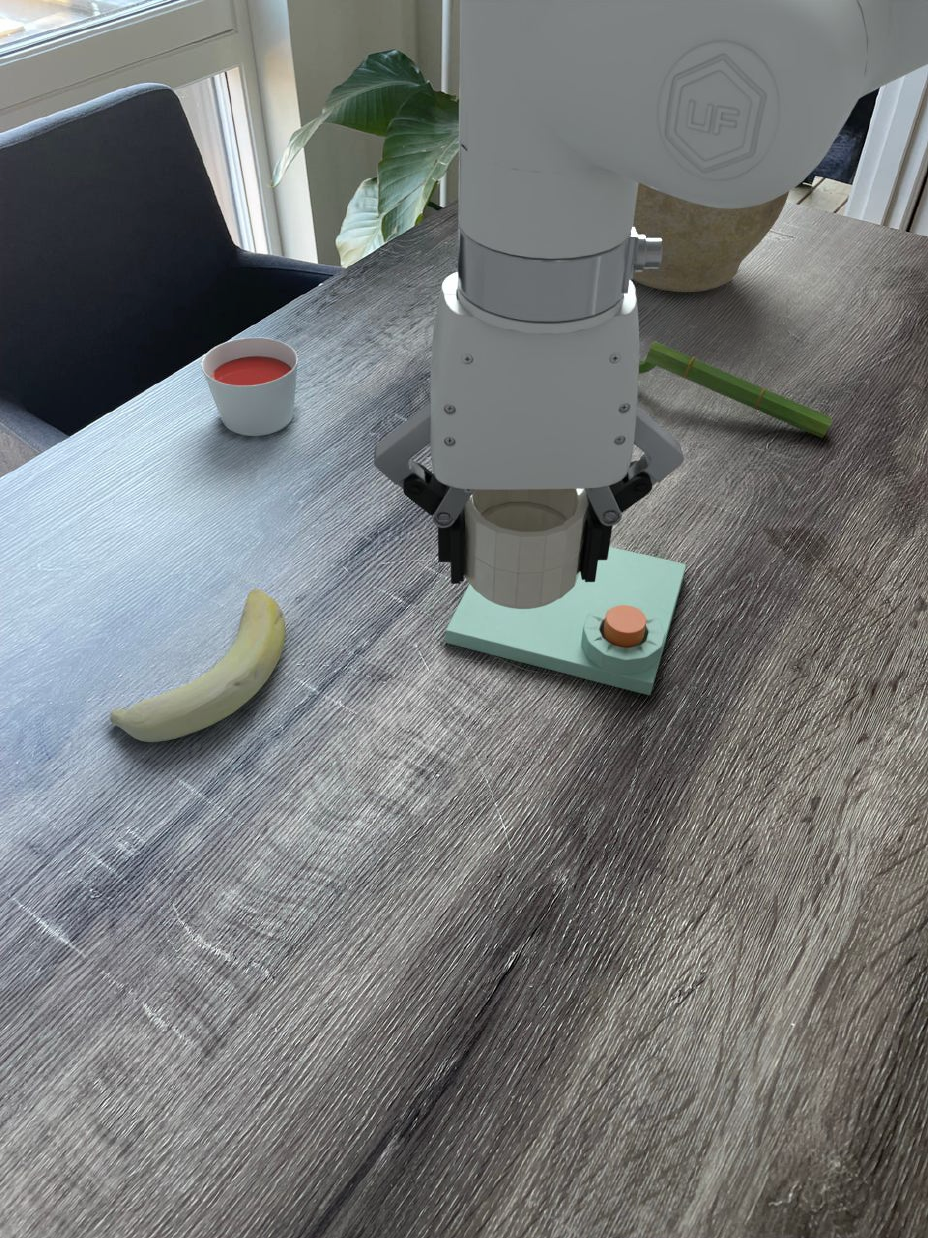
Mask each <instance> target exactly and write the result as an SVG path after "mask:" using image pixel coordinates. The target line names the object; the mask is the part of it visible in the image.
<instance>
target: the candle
mask: <svg viewBox="0 0 928 1238" xmlns="http://www.w3.org/2000/svg"><path fill="white" fill-rule="evenodd" d="M298 363H299V358H298V354H297V351H296V350H295V349H294V348H293V347H292V346H290V345H289V344H287V343H285V342H283V341H281V340H277V339H274V338H269V337H259V336H258V337H255V336H253V337H241V338H237V339H236V338H235V339H232V340H229V341H225V342H223V343H220V344H218V345H216V346H214V347H213V348H211V349H210V350H209V351H207V352H206V353H205V354H204V356H203V357H202V359H201V363H200V364H201V365H200V367H201V371H202V373H203V376H204V378H205V381H206V384H207V386H208V389H209V391H210V394H211V397H212V399H213V402H214V404H215V407H216V409H217V411H218V413H219V417H220V419H221V421H222V423H223V424H224V426H225V427H226V428H227V429H228V430H229V431H231V432H233V433H234V434H238V435H241V436H247V437H261V436H268V435H271V434H274V433H277V432H279V431H281V430H283V429H284V428H286V427H287V426H288V425H289V424H290V423H291V422H292V420H293V416H294V411H295V401H296V400H295V399H296V398H295V397H296V389H297V388H296V386H297V375H298Z"/></svg>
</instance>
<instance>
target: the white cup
mask: <svg viewBox="0 0 928 1238" xmlns="http://www.w3.org/2000/svg"><path fill="white" fill-rule="evenodd" d="M587 512H588V500H587V496H586V492H585V490H584V488H583V489H515V490H476V489H475V490H474V492H473V493H472V495H471V497H470V498H469V500H468V502H467V503H466V505H465V506H464V508H463V513H464V527H465V543H464V579H466V581H467V582H468V584H470V585H471V586H472V587H473V589H474V590H476V592H478V593H480V594H481V595H482V596H483V597H484V598H486V599H487V600H489V601H491V602H493V603H495V604H498V605H500V606H504V607H508V608H514V609H532V608H538V607H542V606H545V605H548V604H550V603H552V602H554V601H556V600H557V599H559V598H562V597H563V596H564V595H565V594H567V593H568V592H569V591H570V590H571V589H572V588H574V586H575V584H576V582H577V579H578V576H579V573H580V568H581V560H582V552H583V544H584V536H585V528H586V520H587Z"/></svg>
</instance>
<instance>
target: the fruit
mask: <svg viewBox="0 0 928 1238" xmlns="http://www.w3.org/2000/svg"><path fill="white" fill-rule="evenodd" d="M286 635H287V633H286V621H285V615H284V612H283V610H282V609H281V607H280V605H279V604H278V602H277V601H276V600H275V599H274V598H272V597H270V596H269V595H268V594H266V592H264V591H262V590H261V589H259V588H255V589H251V590H250V592H249V593H248V594H247V597H246V600H245V603H244V606H243V609H242V612H241V615H240V619H239V625H238V632H237V633H236V638H235V639H234V642H233V644H232V646H231V647H230V648H229V650H228V651H227V653H226V654H225V655H224V656H223V657H222V658H221V659H220V660H219V662H218V663H216V665H214V666H213V667H212V668H211V669H209V670H208V671H206V672H205V673H203V674H201V675H200V676H199V677H197V678H195V679H194V680H191V681H190V682H188V683H186V684H183V685H181V686H178V687H176V688H174V689H172V690H169V691H166V692H164V693H161V694H158V695H155V696H153V697H150V698H147V699H144V700H141V701H139V702H136V703H134V704H133V705H131V706H130V707H128V708H115V709H113V710H112V712H111V714H110V716H109V721H110V722H111V724H112V725H114V726H116V727H118V728H120V729H121V730H122V731H124V732H125V733H126V734H128V735H129V736H130V737H132V738H134V739H136V740H138V741H141V742H145V743H159V742H166V741H171V740H174V739H178V738H182V737H185V736H188V735H191V734H194V733H197V732H199V731H201V730H204V729H206V728H208V727H211V726H212V725H215V724H217V723H218V722H219V721H222V720H224V719H225V718H227V717H229V716H230V715H231V714H233V713H235V712H237V710H239V709H240V708H241V707H243V706H244V705H245V704H246V703H248V702H249V701H250V700H251V699H252V698H253V697H254V696H255V695H256V694H257V693H258V692H259V691H260V690H261V688H262V687H263V685H265V683H266V682H267V681H268V679H269V678H270V677H271V675H272V673H273V672H274V670H275V668H276V666H277V664H278V662H279V661H280V658H281V656H282V653H283V650H284V647H285V646H284V645H285V641H286V640H285V639H286Z"/></svg>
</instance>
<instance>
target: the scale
mask: <svg viewBox="0 0 928 1238" xmlns="http://www.w3.org/2000/svg"><path fill="white" fill-rule="evenodd" d="M686 570H687V563H683V562H678V561H674V560H670V559H665V558H661V557H657V556H651V555H648V554H643V553H639V552H634V551H629V550H626V549H620V548H618V547H617V548H616V547H612V546H609V553H608V559H607V560H598V565H597V572H596V579H595V582H585V580H582V579H581V573H579V576H578V579H577V582H576V584H575V586H574V588H572V589H571V590H570V591H569V592H568V593H567V594H565V595H564V596H563V597H562V598H559V599H557V600H556V601H554V602H552V603H550V604H548V605H545V606H542V607H538V608H532V609H514V608H508V607H504V606H500V605H498V604H495V603H493V602H491V601H489V600H487V599H486V598H484V597H483V596H482V595H481V594H480V593H478V592H476V590H474V589H473V587H472V586H471V585H470V583H468V586H467V588H466V590H465V592H464V593H463V596H462V598H461V599H460V602H459V603H458V606H457V607H456V609H455V611H454V613H453V615H452V617H451V619H450V621H449V623H448V625H447V626H446V629H445V643H446V644H449V645H452V646H456V647H461V648H464V649H469V650H472V651H476V652H479V653H484V654H488V655H491V656H495V657H499V658H503V659H507V660H511V661H515V662H518V663H522V664H526V665H530V666H535V667H538V668H542V669H546V670H549V671H554V672H557V673H560V674H566V675H568V676H572V677H577V678H581V679H584V680H588V681H592V682H595V683H599V684H603V685H608V686H612V687H614V688H615V687H616V688H619V689H623V690H626V691H630V692H634V693H639V694H642V695H645V696H651V695H652V691H653V687H654V683H655V680H656V677H657V673H658V669H659V666H660V663H661V659H662V655H663V652H664V648H665V645H666V641H667V638H668V634H669V631H670V627H671V623H672V620H673V616H674V613H675V609H676V606H677V602H678V599H679V596H680V592H681V588H682V586H683V581H684V578H685V574H686ZM620 605H627V606H632V607H635V608H637V609H639V610H640V611H641V612H642V613H643V614H644V615H645V617H646V620H647V623H646V628H645V633H644V638H643V640H642V642H641V643H640V644H638V645H636V646H634V647H630V648H623V647H619V646H615V645H613V644H611V643H610V642H609V641H608V640H607V639H606V638H605V636H604V632H603V630H604V624H605V617H606V614H607V612H608V611H609V610H610V609H611V608H613V607H615V606H620Z"/></svg>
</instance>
